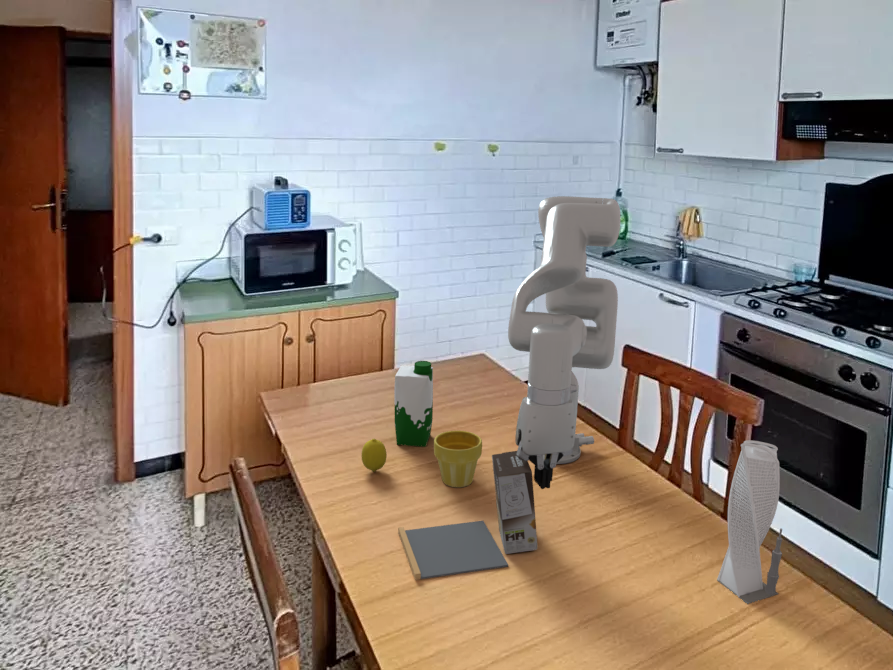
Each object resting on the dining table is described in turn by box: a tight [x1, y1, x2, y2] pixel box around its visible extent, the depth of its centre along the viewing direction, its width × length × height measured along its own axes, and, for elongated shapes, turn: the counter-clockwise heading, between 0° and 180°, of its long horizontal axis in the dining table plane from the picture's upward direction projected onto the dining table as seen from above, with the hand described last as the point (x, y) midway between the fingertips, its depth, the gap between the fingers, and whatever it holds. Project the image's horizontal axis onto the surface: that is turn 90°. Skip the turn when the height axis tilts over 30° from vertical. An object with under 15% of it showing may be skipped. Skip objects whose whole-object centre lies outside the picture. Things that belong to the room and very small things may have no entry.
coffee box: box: [491, 450, 538, 555], centre depth 136 cm, size 9×6×16 cm
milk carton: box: [394, 360, 434, 448], centre depth 177 cm, size 9×9×20 cm
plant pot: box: [433, 430, 483, 488], centre depth 159 cm, size 10×10×10 cm
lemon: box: [361, 438, 388, 473], centre depth 162 cm, size 6×6×8 cm
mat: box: [397, 520, 509, 581], centre depth 135 cm, size 17×15×1 cm
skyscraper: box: [716, 439, 783, 605], centre depth 122 cm, size 8×8×28 cm
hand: (542, 484), depth 136 cm, fingers closed
